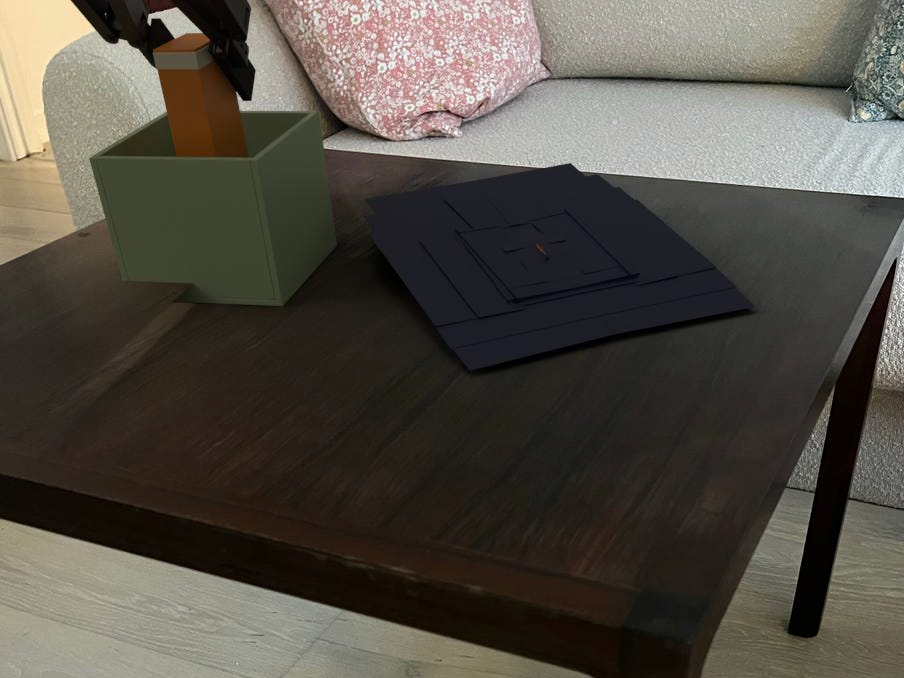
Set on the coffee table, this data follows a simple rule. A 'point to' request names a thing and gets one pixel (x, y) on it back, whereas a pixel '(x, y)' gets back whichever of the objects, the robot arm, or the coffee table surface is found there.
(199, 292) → the bin
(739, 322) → the coffee table surface
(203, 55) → the block
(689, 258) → the folded navy cloth
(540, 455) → the coffee table surface
